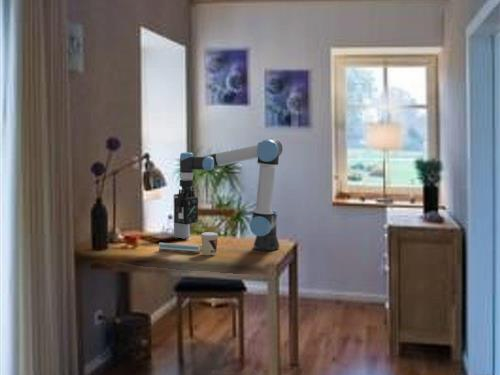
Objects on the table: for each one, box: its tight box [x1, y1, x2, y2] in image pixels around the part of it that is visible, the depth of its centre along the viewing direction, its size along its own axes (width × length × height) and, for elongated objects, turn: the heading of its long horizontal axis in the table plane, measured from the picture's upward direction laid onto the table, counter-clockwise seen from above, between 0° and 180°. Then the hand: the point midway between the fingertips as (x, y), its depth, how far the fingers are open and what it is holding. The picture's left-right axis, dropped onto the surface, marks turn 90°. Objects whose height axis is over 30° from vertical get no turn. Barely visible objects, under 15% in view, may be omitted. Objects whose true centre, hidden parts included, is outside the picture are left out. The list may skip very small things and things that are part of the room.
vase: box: [173, 193, 191, 240], centre depth 415 cm, size 10×10×27 cm
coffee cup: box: [200, 231, 219, 256], centre depth 371 cm, size 9×9×12 cm
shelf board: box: [158, 245, 202, 254], centre depth 382 cm, size 24×14×2 cm, turn 75°
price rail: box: [158, 242, 200, 251], centre depth 376 cm, size 24×1×3 cm, turn 75°
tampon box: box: [173, 196, 199, 225], centre depth 383 cm, size 11×9×15 cm
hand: (186, 216), depth 384 cm, fingers closed on tampon box, 12 cm apart
